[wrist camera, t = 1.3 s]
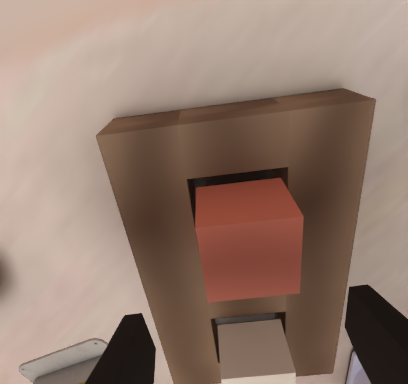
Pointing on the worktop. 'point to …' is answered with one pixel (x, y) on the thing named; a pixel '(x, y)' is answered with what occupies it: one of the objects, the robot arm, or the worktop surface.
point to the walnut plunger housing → (229, 164)
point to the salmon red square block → (249, 240)
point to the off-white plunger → (255, 353)
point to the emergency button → (65, 364)
